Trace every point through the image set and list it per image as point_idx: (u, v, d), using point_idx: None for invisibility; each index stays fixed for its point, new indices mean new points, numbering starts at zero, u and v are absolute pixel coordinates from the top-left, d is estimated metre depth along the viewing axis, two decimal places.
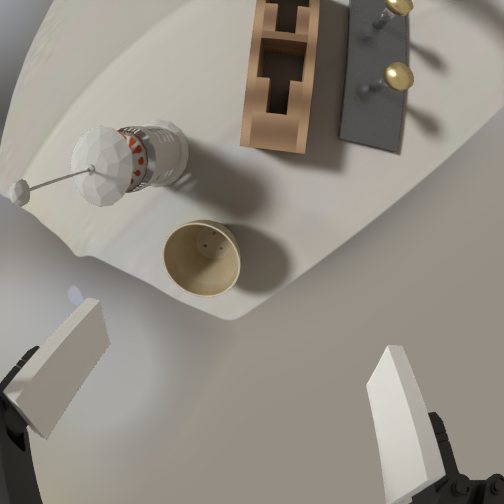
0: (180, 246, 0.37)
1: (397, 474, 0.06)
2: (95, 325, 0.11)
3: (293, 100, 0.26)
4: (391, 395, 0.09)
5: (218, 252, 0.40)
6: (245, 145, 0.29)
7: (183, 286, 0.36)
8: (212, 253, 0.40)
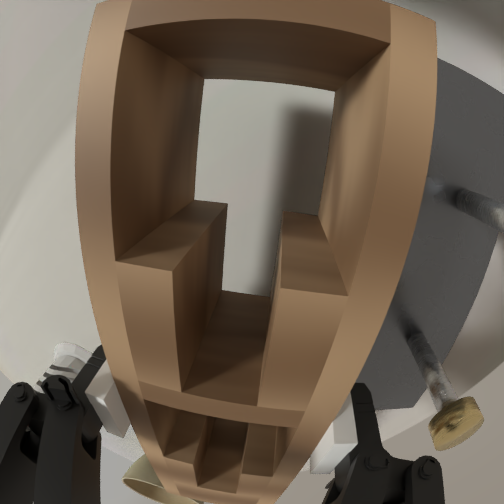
0: None
1: None
2: None
3: (248, 487, 0.10)
4: None
5: None
6: (175, 494, 0.13)
7: (149, 497, 0.23)
8: None
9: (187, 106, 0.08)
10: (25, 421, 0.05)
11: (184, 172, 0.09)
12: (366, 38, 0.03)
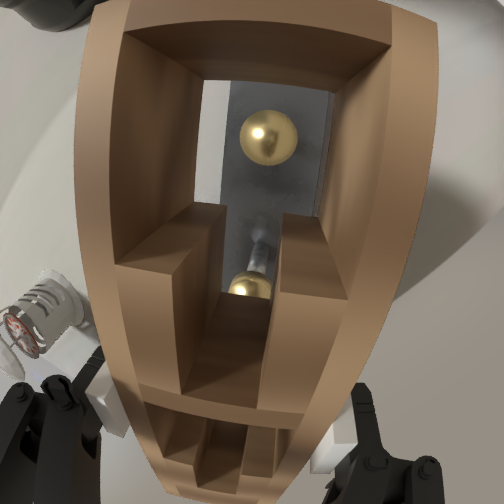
0: None
1: None
2: None
3: (248, 488, 0.10)
4: None
5: None
6: (175, 494, 0.13)
7: None
8: None
9: (187, 108, 0.08)
10: (25, 421, 0.05)
11: (184, 174, 0.09)
12: (367, 40, 0.03)
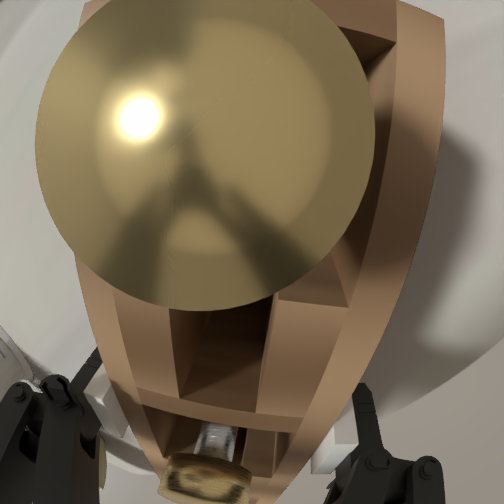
0: None
1: None
2: None
3: None
4: None
5: None
6: None
7: None
8: None
9: None
10: (25, 421, 0.05)
11: None
12: (370, 36, 0.03)
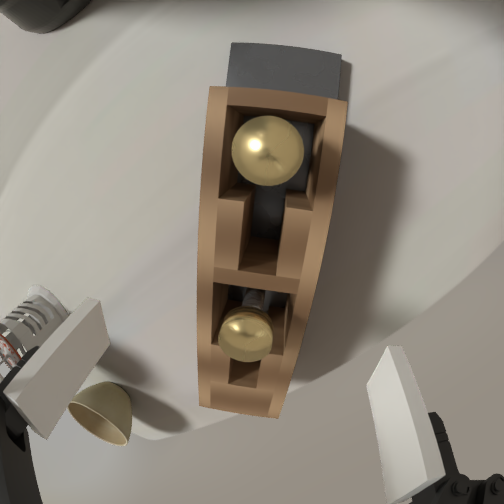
0: None
1: (397, 474, 0.06)
2: (95, 325, 0.11)
3: (265, 375, 0.19)
4: (391, 395, 0.09)
5: None
6: (206, 406, 0.22)
7: (92, 432, 0.30)
8: None
9: None
10: None
11: (235, 166, 0.18)
12: (317, 114, 0.12)
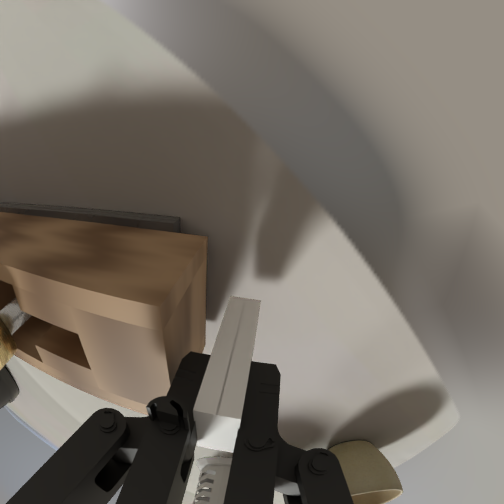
0: None
1: None
2: None
3: (46, 313, 0.09)
4: None
5: None
6: None
7: (379, 502, 0.17)
8: None
9: None
10: (108, 452, 0.06)
11: None
12: None
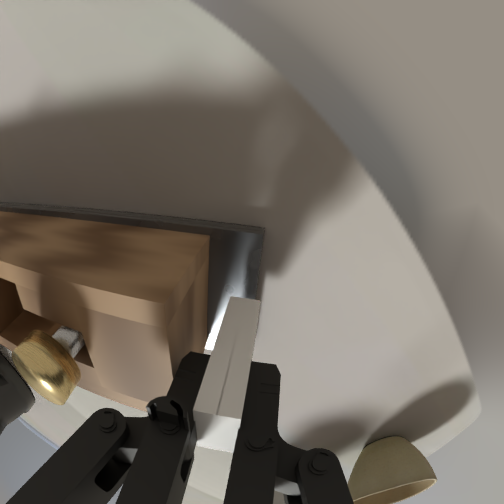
0: None
1: None
2: None
3: (49, 311, 0.09)
4: None
5: None
6: None
7: (411, 494, 0.17)
8: None
9: None
10: (108, 452, 0.06)
11: None
12: None
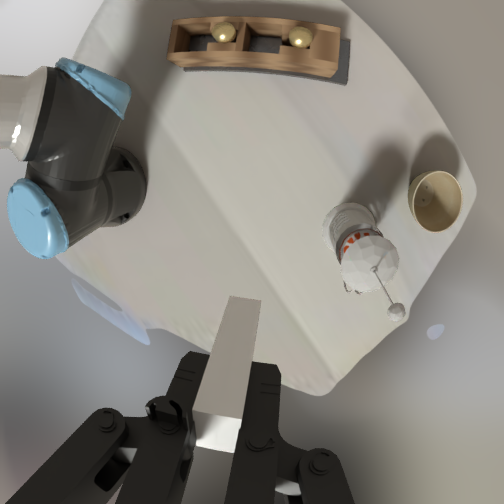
0: (424, 219, 0.40)
1: None
2: None
3: None
4: None
5: (429, 190, 0.41)
6: (337, 65, 0.30)
7: (453, 221, 0.36)
8: (429, 194, 0.41)
9: None
10: (108, 452, 0.06)
11: None
12: (178, 27, 0.29)
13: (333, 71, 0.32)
